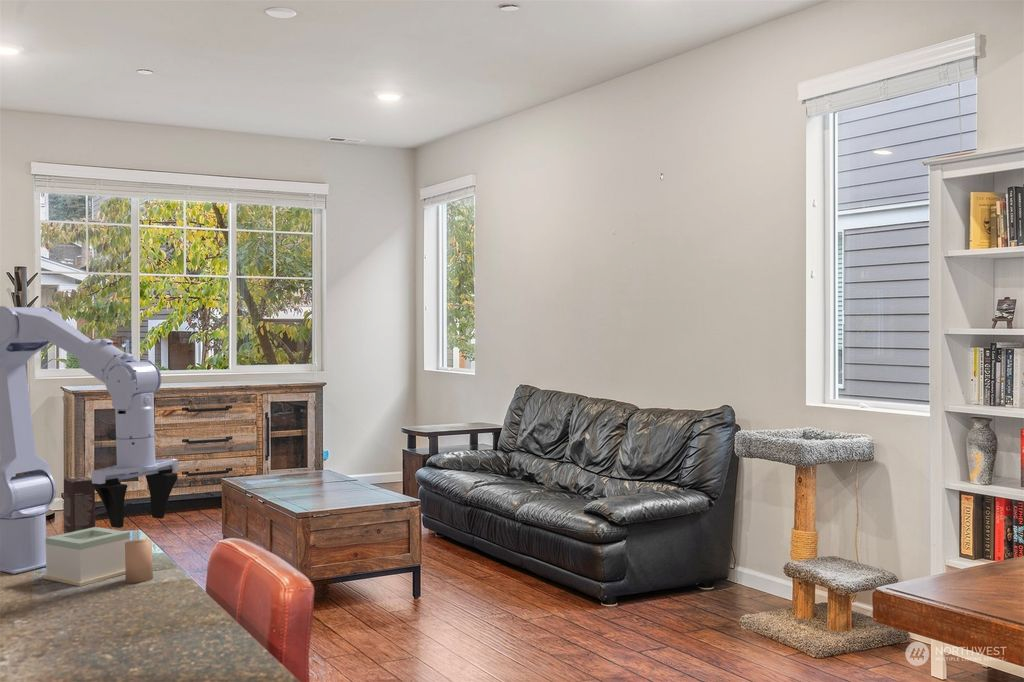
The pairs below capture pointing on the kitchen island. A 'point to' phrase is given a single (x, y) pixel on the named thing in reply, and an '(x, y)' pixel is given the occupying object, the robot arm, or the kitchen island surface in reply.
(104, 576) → the socket
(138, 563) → the peg
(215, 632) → the kitchen island surface
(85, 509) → the box
